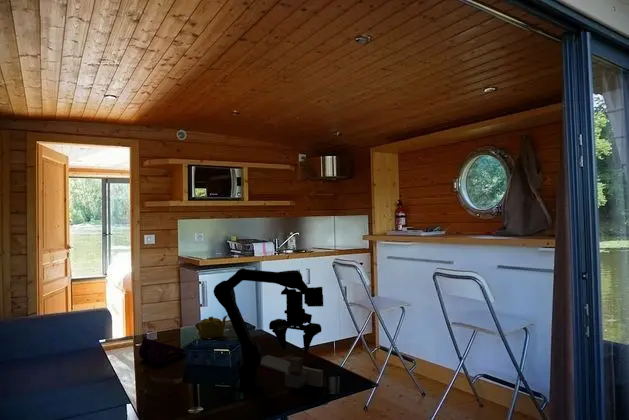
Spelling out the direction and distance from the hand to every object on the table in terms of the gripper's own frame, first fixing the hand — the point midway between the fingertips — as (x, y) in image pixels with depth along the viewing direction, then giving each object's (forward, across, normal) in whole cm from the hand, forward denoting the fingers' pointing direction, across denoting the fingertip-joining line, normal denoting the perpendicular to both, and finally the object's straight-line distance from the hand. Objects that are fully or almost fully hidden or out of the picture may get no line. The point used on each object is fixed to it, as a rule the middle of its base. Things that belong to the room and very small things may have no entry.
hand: (295, 351), depth 159 cm
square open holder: (+11, -1, -1) cm, 11 cm away
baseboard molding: (+14, +15, -17) cm, 26 cm away
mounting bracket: (+13, +69, -2) cm, 70 cm away
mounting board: (+13, 0, -6) cm, 14 cm away
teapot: (+13, +74, -36) cm, 83 cm away
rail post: (+10, -1, 0) cm, 10 cm away
